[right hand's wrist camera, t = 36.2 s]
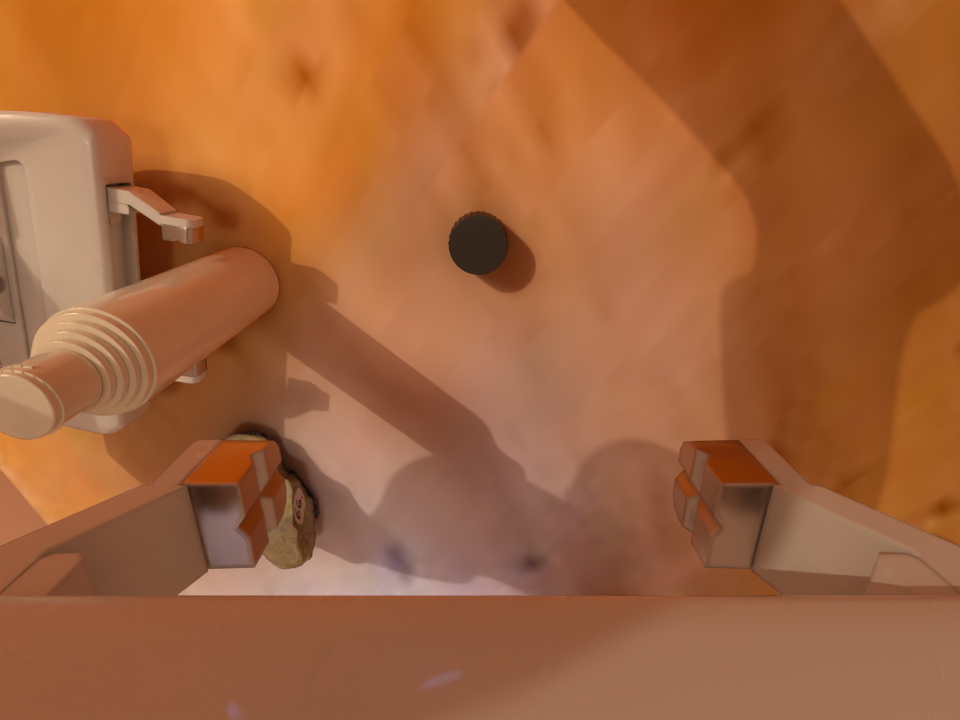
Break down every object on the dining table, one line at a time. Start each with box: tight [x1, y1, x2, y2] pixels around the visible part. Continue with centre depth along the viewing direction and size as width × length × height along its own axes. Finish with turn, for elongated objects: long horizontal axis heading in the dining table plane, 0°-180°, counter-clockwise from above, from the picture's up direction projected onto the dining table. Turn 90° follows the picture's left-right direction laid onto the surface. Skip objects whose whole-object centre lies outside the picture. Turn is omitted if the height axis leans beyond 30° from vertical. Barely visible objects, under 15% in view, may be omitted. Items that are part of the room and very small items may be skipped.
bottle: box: [0, 247, 279, 439], centre depth 29 cm, size 5×5×20 cm
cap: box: [448, 211, 508, 275], centre depth 36 cm, size 4×4×2 cm
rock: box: [225, 431, 319, 569], centre depth 42 cm, size 11×6×10 cm
